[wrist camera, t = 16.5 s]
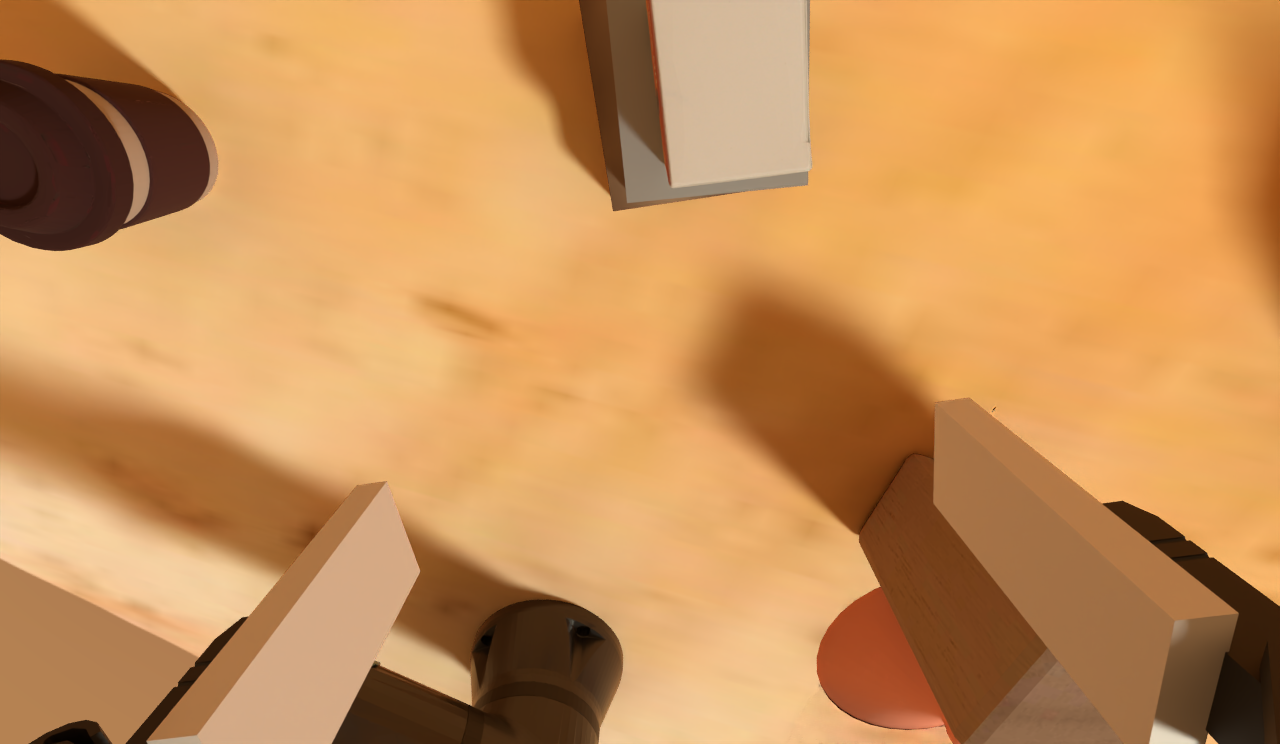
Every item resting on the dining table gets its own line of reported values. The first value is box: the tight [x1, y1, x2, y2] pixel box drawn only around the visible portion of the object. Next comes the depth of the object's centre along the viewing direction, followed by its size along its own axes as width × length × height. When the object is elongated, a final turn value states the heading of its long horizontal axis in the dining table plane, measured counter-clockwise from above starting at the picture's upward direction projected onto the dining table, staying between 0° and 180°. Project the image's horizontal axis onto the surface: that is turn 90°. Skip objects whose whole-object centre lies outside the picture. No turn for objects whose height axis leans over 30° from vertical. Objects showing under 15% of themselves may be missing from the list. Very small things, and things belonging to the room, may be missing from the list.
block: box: [859, 454, 1123, 744], centre depth 43 cm, size 10×10×20 cm
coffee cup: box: [0, 60, 218, 251], centre depth 38 cm, size 10×10×15 cm
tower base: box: [579, 0, 745, 211], centre depth 38 cm, size 12×12×5 cm
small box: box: [646, 0, 812, 188], centre depth 26 cm, size 8×6×10 cm
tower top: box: [606, 0, 810, 203], centre depth 33 cm, size 10×10×5 cm
